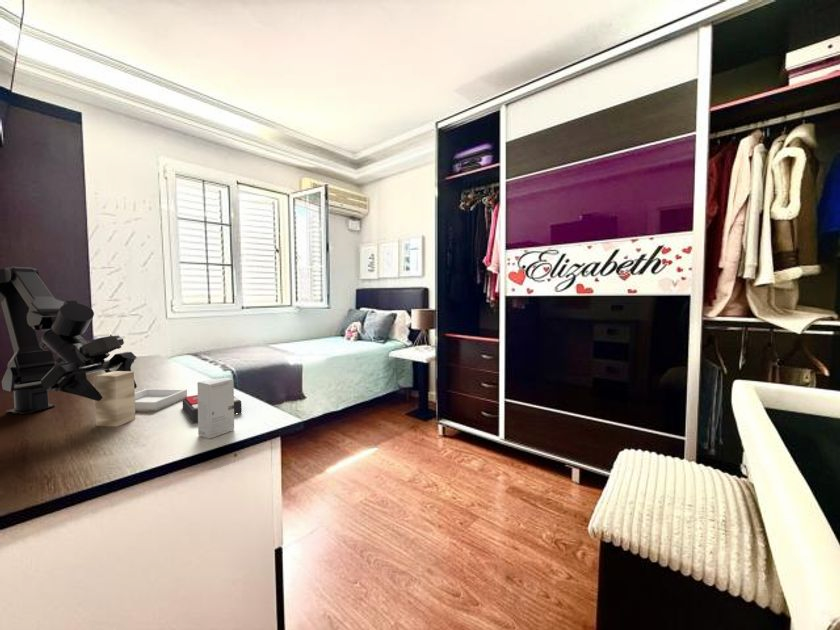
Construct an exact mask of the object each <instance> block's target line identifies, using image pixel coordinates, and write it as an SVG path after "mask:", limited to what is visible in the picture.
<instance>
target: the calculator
mask: <svg viewBox="0 0 840 630" xmlns="http://www.w3.org/2000/svg"><path fill="white" fill-rule="evenodd" d="M182 410H183V411H184V413H185V414H186V415H187V416H188V418H189V420H190V421H191V423H192V424H198V394H195V395H187V397H185V399H183V400H182ZM241 412H242V413H243V411H242V401H241V399H239V398H237V397H235V396H234V414H236V413H241ZM242 413H241V414H242Z"/></svg>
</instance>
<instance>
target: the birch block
mask: <svg viewBox="0 0 840 630" xmlns="http://www.w3.org/2000/svg"><path fill="white" fill-rule="evenodd" d="M93 380H94V387H95V388H96V390H97V391H98V392H99V393H100V394H101V396H102V397H103V398H102V399H101V400H100V401H96V400H94V402H95V404H94V405H95V424H96V427H120V426H122V425H124V424H126V423H129V422H131V421H134V420H135V419H136V411H135V393H136V392H135V389H134V380H135V372H134V371H132V370H131V371H112V372H108V373H106V372H104V373H102V374H97V375H94V377H93Z"/></svg>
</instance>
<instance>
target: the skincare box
mask: <svg viewBox="0 0 840 630" xmlns="http://www.w3.org/2000/svg"><path fill="white" fill-rule="evenodd" d="M234 381H235V379H234V378H231V377H224V376H223V377H222V376H221V377H218V378H211V379H207V380H202V381H197V383H196V384H197V395H198V423H197V425H198V426H197V431H198V432H197V434H198V436H199V437H202V438H205V439H208V440H209V439H210V440H211V439H213V438H215V437H218V436H222V435H223V434H226V433H230V432H232V431H234V430H235V415H234V397H235V395H234V394H235V390H234V388H235V386H234V385H235V384H234ZM229 431H230V432H229Z"/></svg>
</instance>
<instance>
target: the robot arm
mask: <svg viewBox="0 0 840 630" xmlns="http://www.w3.org/2000/svg"><path fill="white" fill-rule="evenodd" d="M39 275H40V273H39V271H38V269H37V268H33V267H28V266H27V267H26V266H25V267H23V266H11V267H5V268H1V269H0V304H1V308H2V311H3V316H4V319H5V323H6V328H7V331H8V335H9V338H10V342H11V345H12V350H13V355H12V357H11V358H10V360H9V361H8V363H7V368H6V371H5V372H4V375H3V378H2V380H1V386H2V387H1V388H2V390H3V391H6V392H13V405H14V406H13V407H14V408H12V409H7V410H5V411H6V413H7V412H12V413H11V414H17V413H19V414H20V415H29V414H31V413H35V411H36V412H39V410H40V411H43V410H42V409H44V410H47V409H50V407H51V408H54V407H56V404H54V403H53V404H52V403H49V392H50V391H55V392H56V393H57V392H59V393H60V392H61V393H62V392H63V393H66V394H69V395H70V394H71V395H75V396H79V397H83V398H87V399H90V400H92V401H93V400H94V401H95V400H96V401H100V400H101V399H102V398H103V397H102V396H101V394H100V393H99V392H98V391H97V390H96V388H95V385H93V384H92V383H91V382H90V381H89V379H88V378H87V375H89V374H93V373H98V372H101V371H102V372H103V371H104V373H108V372H112V371H132V365H133V364H134V363H135V360H136V359H137V356H136V355H135V354H134V353H133V352H132V351H124V352H120V353H119V352H118V353H115V354H113V356H112V357H110V356H111V354H110V353H111V352H114V351H115V350H120V349H121V348H122V346H124V344H125V342H124V338H122V336H120V335H119V334H117V333H112V334H110V335H107V336H103V337H99V338H96V339H94V340H92V341H87V340H86V339H84V337H82V336H81V335H83V334H85V332H86V330H87V329H88V327H89V325H90V323H91V322H92V320H93V318H94V316H95V312H94V310H93V309H91V308H90V307H89V306H87V305H85V304H81V303H78V301H77V300H75V299H74V300H72V299H71V300H70V299H67V300H64V301H63V300H60V299H57V298H55V297H54V295H53V294H52V293H51V291H50V290H49V288H48V287H47V286H46V284H45V283H44V281H42V279H41V277H40V276H39ZM37 331H38V332H40V331H45V332H44V334H43V336H41V337H40V339H41V340H40V341H41V342H40V341H39V337H38V334H37ZM45 348H49V349H46V350H45ZM53 353H54V354H55V355H56V356H57V357H58V358H57V359H56V361H55V359H54V355H53ZM108 357H110V359H109V360H106V359H108ZM137 388H138V385H137V384H136V381H135V379H134V390H135V389H137ZM46 408H47V409H46ZM19 414H18V415H19Z"/></svg>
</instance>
